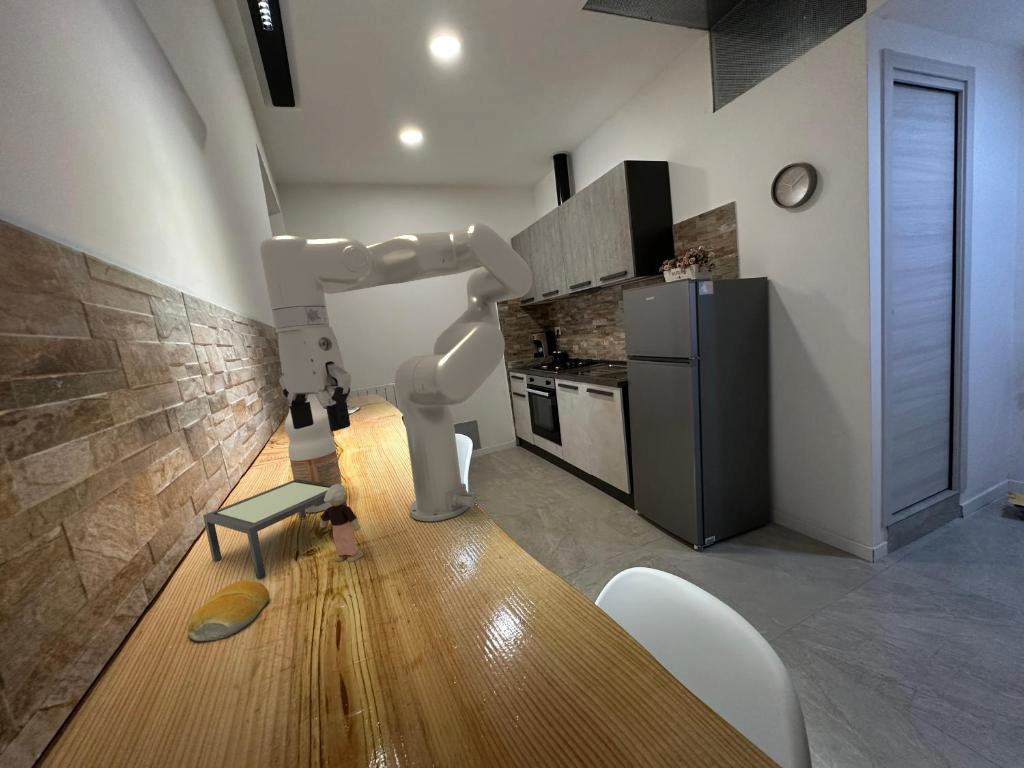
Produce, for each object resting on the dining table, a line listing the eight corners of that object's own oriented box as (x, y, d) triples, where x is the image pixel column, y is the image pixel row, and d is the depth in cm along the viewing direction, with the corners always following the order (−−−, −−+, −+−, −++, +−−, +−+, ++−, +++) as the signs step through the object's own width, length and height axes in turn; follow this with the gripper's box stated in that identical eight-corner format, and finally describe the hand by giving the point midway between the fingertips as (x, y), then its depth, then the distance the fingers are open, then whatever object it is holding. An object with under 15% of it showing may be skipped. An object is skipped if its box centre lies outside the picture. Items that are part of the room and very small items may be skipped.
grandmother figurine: (373, 549, 66) (362, 478, 65) (362, 562, 63) (350, 488, 61) (331, 551, 67) (319, 481, 66) (318, 564, 64) (305, 491, 62)
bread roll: (279, 591, 58) (274, 566, 57) (245, 637, 49) (239, 608, 48) (219, 601, 57) (214, 576, 56) (174, 649, 48) (167, 620, 47)
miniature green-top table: (350, 527, 76) (343, 486, 75) (259, 579, 61) (249, 528, 60) (303, 516, 83) (296, 478, 82) (212, 560, 68) (202, 515, 67)
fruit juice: (293, 517, 83) (269, 389, 80) (306, 500, 92) (285, 384, 89) (339, 508, 85) (318, 383, 82) (347, 492, 94) (329, 379, 91)
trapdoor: (334, 503, 74) (331, 488, 74) (257, 540, 62) (254, 522, 62) (296, 496, 80) (294, 482, 80) (220, 528, 68) (216, 512, 68)
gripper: (358, 314, 59) (376, 423, 61) (294, 325, 68) (312, 420, 70) (312, 315, 52) (334, 437, 55) (247, 328, 61) (269, 432, 64)
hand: (321, 427), depth 62 cm, fingers open, 9 cm apart
